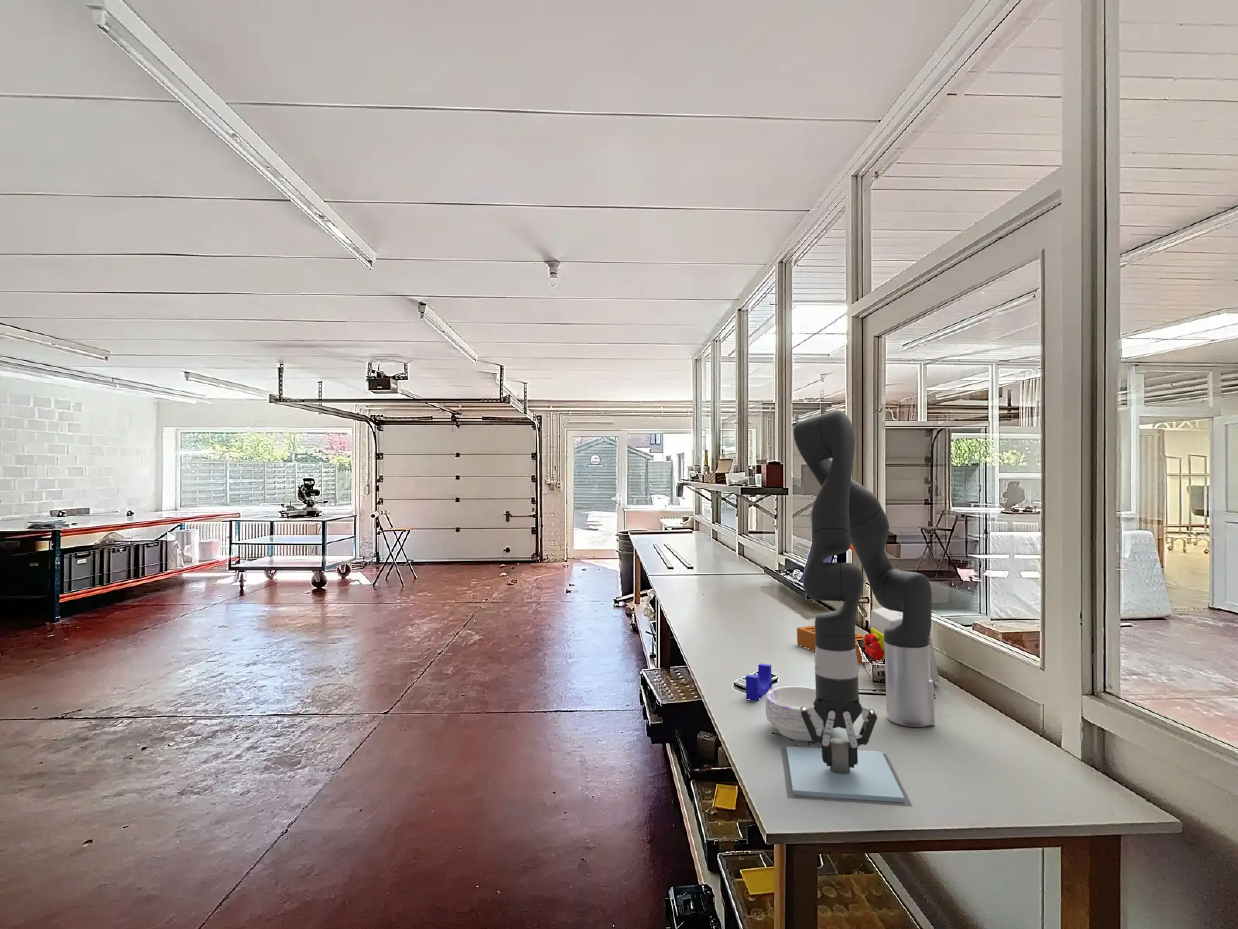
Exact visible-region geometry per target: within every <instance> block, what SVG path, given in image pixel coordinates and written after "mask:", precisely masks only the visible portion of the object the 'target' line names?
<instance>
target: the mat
mask: <svg viewBox="0 0 1238 929" xmlns="http://www.w3.org/2000/svg"><path fill="white" fill-rule="evenodd" d="M780 749H781V750H780V751H781V757H782V758H781V759H782V765H783V773H784V774H783V775H784V779H785V790H786V797H787V798H789V799H801V800H815V801H829V802H830V801H832V802H843V803H859V804H860V803H861V804H872V805H873V804H874V805H887V806H902V807H904V806H905V807H913V804H912V802H911V800H910V799H909V796H908V794H907V792H906V791H905V789H904V787H903V784H902V783H901V781H900V778H899V776H898V775H897V773H896V771H895V769H894V767H893V765H892V762H891V760H890V759H889V757H888V755H887V753H883V755H884V757H885V759H886V762H887V764H888V766H889V768H890V770H891V772H892V774H893V776H894V778H895V780H896V782H897V784H898V786H899V788H900V790H901V792H902V794H903V796H904V802H905V803H904V802H889V801H875V800H860V799H845V798H831V797H816V796H801V795H793V790H792V784H791V777H790V770H789V764H788V757H787V749H786V747H781V748H780Z"/></svg>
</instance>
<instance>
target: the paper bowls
mask: <svg viewBox="0 0 1238 929" xmlns="http://www.w3.org/2000/svg"><path fill="white" fill-rule="evenodd" d="M815 699H816V687H808V686H802V685H801V686H800V685H786V686H779V687H778V686H777V687H774V688H771V689H770V690H769V691H768V692H767V693H766V694H765V716H766V719H767V721H768V722H769V723H770V724H771V725H773V726H775V727H776V729H777V731H778V733H779V734H780V735H782V736H784V737H785V738H788V739H791V740H795V741H804V742H813V741H812V739H811V736H810V734H809V732H808V729H807V727H806V725H805V722H804V720H803V718H802V715H801V711H800V708H801V707H803V706H804V707H809V706H812V705H813V704H814V701H815ZM812 723H813V725H814V727H815V730H816V732H817V733H819V734H821V732H822V724H823V720H822V719H821V718H820V716H819V715H818V714H817V713H816V712H814V718H813V719H812ZM835 729H836V728H832V731H834V730H835Z"/></svg>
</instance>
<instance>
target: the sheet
mask: <svg viewBox="0 0 1238 929" xmlns="http://www.w3.org/2000/svg"><path fill="white" fill-rule="evenodd" d="M829 745H830V752H831V767H830V766H827V765H826V763H824V762H823V759H822V748H821V747H820V748H819V747H818V748H817V747H806V746H805V747H803V746H802V747H799V746H788V745H787V746H786V747H785V748H786V749H787V757H788V764H789V770H790V777H791V784H792V790H793V795H801V796H816V797H831V798H845V799H860V800H875V801H889V802H904V796H903V794H902V792H901V790H900V788H899V786H898V784H897V782H896V780H895V778H894V776H893V774H892V772H891V770H890V768H889V766H888V764H887V762H886V759H885V757H884V755H883V754H884V753H883V752H882V751H879V750H878V751H877V750H876V751H875V750H862V749H861V750H859V749H857V753H858V763H857V765H854V768H850V756H849V740H847V739H843V738H837V737H836V738H835V737H834V738H830V741H829ZM904 803H905V802H904Z"/></svg>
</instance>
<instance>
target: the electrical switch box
mask: <svg viewBox="0 0 1238 929" xmlns="http://www.w3.org/2000/svg"><path fill="white" fill-rule="evenodd" d="M902 618H903V612H898V611H893V610H889V609H886V608H884V607H878V608H875V609H871V611H870V619H869V626H870V627H869V630H870V633H866V634H865V635H864V636H865V638H864V643H865V652H866V653H867V654H868V655H869V656H871V657H872V658H875V659H876V660H880V659H882V658H885V647H884V630H885V629H886V628H887V627H890V626H895V625H900V624H901V623H902ZM929 639H930V642H931V643H930V644H929V657H930V679H931V680H932V681H933V683H939V682H940V676H939V671H938V665H937V662H936V656H935V650H934V645H933V640H932V635H931V633H930V636H929ZM870 644H872V646H869V645H870Z"/></svg>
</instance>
